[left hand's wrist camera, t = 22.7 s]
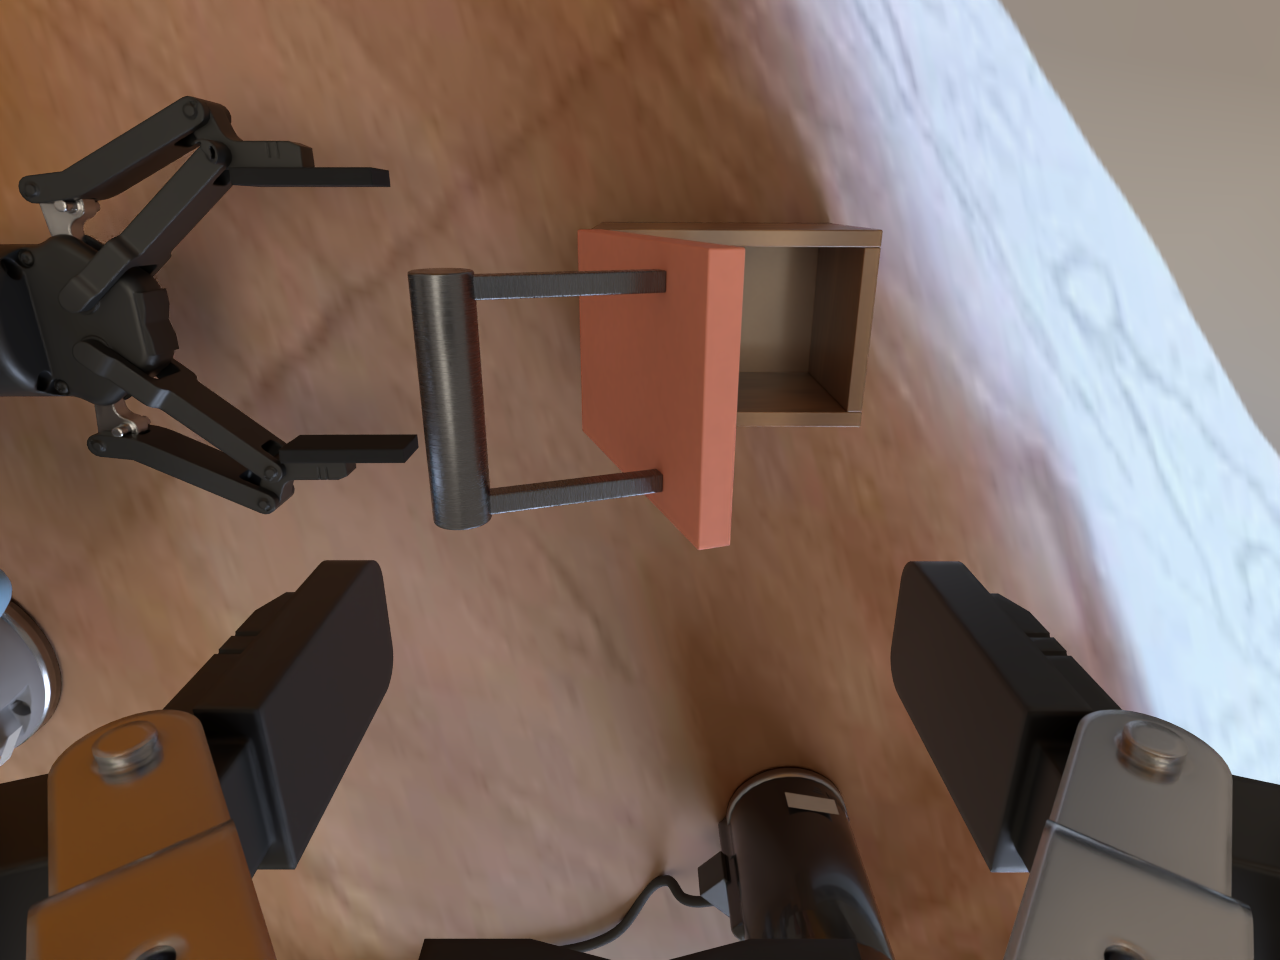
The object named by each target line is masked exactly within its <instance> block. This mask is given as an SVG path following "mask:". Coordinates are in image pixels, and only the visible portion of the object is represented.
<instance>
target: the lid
mask: <svg viewBox="0 0 1280 960" xmlns="http://www.w3.org/2000/svg"><path fill="white" fill-rule="evenodd" d="M744 266H745V248H744V247H737V246H729V245H721V244H714V243H706V242H698V241H690V240H682V239H674V238H666V237H659V236H651V235H643V234H635V233H627V232H619V231H611V230H603V229H579V230H578V268H579V271H566V272H530V273H495V274H474V271H473V270H470V269H462V268H429V269H417V270H411V271H409V272H408V282H409V292H410V301H411V311H412V320H413V330H414V339H415V349H416V358H417V368H418V377H419V387H420V396H421V406H422V415H423V425H424V434H425V444H426V453H427V463H428V472H429V482H430V491H431V501H432V510H433V520H434V523H435V524H436V525H437V526H438V527H440V528H443V529H448V530H466V529H472V528H476V527H479V526H482V525H484V524H486V523H487V522H489V521H490V519H491V517H492V514H498V513H506V512H513V511H521V510H529V509H536V508H544V507H551V506H559V505H567V504H574V503H582V502H590V501H597V500H605V499H612V498H620V497H628V496H635V495H643V494H645V496H646V497H647V498H648V499H649V500H650V501H651V502H652V503H653V504H654V505H655V506H656V507H657V508H658V509H659V510H660V511H661V512H662V513H663V514H664V515H665V516H666V517H667V518H668V519H669V520H670V521H671V522H672V523H673V524H674V525H675V526H676V528H677V529H678V530H679V531H680V532H681V533H682V534H683V535H684V536H685V537H686V538H687V539H688V540H689V541H690V542H691V543H692V544H693V545H694V546H695V547H696V548H697V549H698V550H702V549H709V548H715V547H721V546H727V545H730V533H731V514H732V495H733V476H734V457H735V438H736V419H737V400H738V381H739V362H740V342H741V323H742V304H743V285H744ZM568 296H579V307H580V347H581V387H582V427H583V431H584V433H585V434H586V435H587V436H588V437H589V438H590V439H591V440H592V441H593V442H594V443H595V444H596V445H597V446H598V447H599V448H600V449H601V450H602V451H603V452H604V453H605V454H606V455H607V456H608V457H609V458H610V459H611V460H612V461H613V462H614V463H615V465H616V466H617V467H618V468H619V469H620V470H621V471H622V472H623V473H616V474H608V475H600V476H591V477H583V478H575V479H566V480H558V481H550V482H541V483H533V484H525V485H516V486H508V487H500V488H491V489H490V482H489V468H488V455H487V441H486V428H485V414H484V401H483V387H482V374H481V361H480V347H479V334H478V320H477V307H476V300H491V299H517V298H542V297H568Z"/></svg>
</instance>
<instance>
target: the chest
mask: <svg viewBox="0 0 1280 960" xmlns="http://www.w3.org/2000/svg"><path fill="white" fill-rule="evenodd" d="M592 229H603V230H611V231H619V232H627V233H635V234H643V235H651V236H659V237H666V238H674V239H682V240H690V241H698V242H706V243H714V244H721V245H729V246H737V247H744V248H745V266H744V285H743V304H742V323H741V342H740V362H739V381H738V400H737V419H736V426H772V427H860V424H861V415H862V406H863V397H864V388H865V380H866V371H867V362H868V353H869V345H870V336H871V327H872V319H873V310H874V301H875V293H876V284H877V275H878V266H879V258H880V246H881V240H882V232H883V231H882V230H879V229H871V228H863V227H855V226H847V225H839V224H831V223H610V222H602V223H600V224H599V225H597V226H596V227H594V228H592Z"/></svg>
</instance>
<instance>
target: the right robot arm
mask: <svg viewBox="0 0 1280 960" xmlns="http://www.w3.org/2000/svg"><path fill="white" fill-rule="evenodd" d="M198 146H200V147H199V148H198V149H197V150H196V151H195V152H194V153H193V154H192V155H191V157H190V158H189V159H188V160H187V161H186V162H185V163H184V164H183V165H182V167H181V168H180V169H179V170H178V171H177V172H176V173H175V174H174V175H173V177H172V178H171V179H170V180H169V181H168V182H167V183H166V184H165V185H164V187H163V188H162V189H161V190H160V191H159V192H158V193H157V194H156V195H155V197H154V198H153V199H152V200H151V201H150V202H149V203H148V204H147V205H146V207H145V208H144V209H143V210H142V211H141V212H140V213H139V214H138V215H137V216H136V218H135V219H134V220H133V221H132V222H131V223H130V224H129V225H128V226H127V228H126V229H125V230H124V231H123V232H122V233H121V234H120V235H118V236H117V237H114V238H112V239H111V240H109V241H108V242H107V243H106V244H105V245H104V244H102V243H100V242H99V241H97V240H96V239H94V238H92V237H90V236H88V235H85V234H84V231H83V225H84V223H85V222H86V220H88V219H90V218H92V217H94V216H95V214H96V212H98V211H99V210H100V204H99V203H98V202H97V201H100V200H105V199H108V198H111V197H114V196H116V195H118V194H120V193H122V192H124V191H125V190H127V189H129V188H130V187H132V186H134V185H135V184H137V183H139V182H140V181H142V180H143V179H145V178H147V177H148V176H150V175H152V174H153V173H155V172H157V171H158V170H160V169H162V168H163V167H165V166H167V165H168V164H170V163H172V162H173V161H175V160H177V159H178V158H180V157H182V156H183V155H185V154H187V153H188V152H190V151H192V150H193V149H195V148H197V147H198ZM233 185H241V186H256V187H390V178H389V170H383V169H377V168H371V167H315V166H314V159H313V152H312V148H310V147H308V146H305V145H303V144H300V143H295V142H290V141H243V140H241V139H240V138H239V137H238V136H237V135H236V133H235V132H234V130H233V128H232V126H231V115H230V113H229V111H228V110H227V108H226V107H224V106H223V105H221V104H218V103H214V102H210V101H207V100H203V99H199V98H195V97H190V96H185V97H182V98H181V99H179V100H177V101H176V102H174V103H172V104H171V105H169V106H168V107H166V108H164V109H163V110H161V111H159V112H158V113H156V114H155V115H153V116H151V117H150V118H148V119H146V120H145V121H143V122H142V123H140V124H138V125H137V126H135V127H133V128H132V129H130V130H129V131H127V132H125V133H124V134H122V135H120V136H119V137H117V138H116V139H114V140H112V141H111V142H109V143H108V144H106V145H104V146H103V147H101V148H99V149H98V150H96V151H95V152H93V153H91V154H90V155H88V156H86V157H85V158H83V159H82V160H80V161H78V162H77V163H75V164H73V165H72V166H70V167H69V168H67V169H65V170H64V171H62V172H54V173H46V174H38V175H30V176H25V177H23V178H22V179H21V180H20V181H19V191H20V193H21V195H22V197H24V198H25V199H26V200H27V201H29V202H31V203H39V204H40V207H41V209H42V212H43V215H44V217H45V220H46V223H47V225H48V228H49V231H50V234H51V236H52V237H50V238H48V239H47V240H46V241H44V242H43V243H40V244H0V396H74V397H79V398H82V399H84V400H86V401H88V402H91V403H93V404H95V411H96V418H97V425H98V433H97V434H95V435H92V436H91V437H89V439H88V440H87V446H88V449H89V450H90V451H91V452H92V453H93V454H94V455H96V456H100V457H109V458H118V459H128V460H134V461H137V462H139V463H142V464H144V465H146V466H149V467H151V468H154V469H156V470H158V471H161V472H163V473H166V474H168V475H170V476H173V477H175V478H178V479H180V480H183V481H185V482H187V483H190V484H192V485H195V486H197V487H199V488H202V489H204V490H207V491H209V492H211V493H214V494H216V495H219V496H221V497H223V498H226V499H228V500H231V501H233V502H235V503H238V504H240V505H243V506H245V507H247V508H250V509H252V510H255V511H257V512H259V513H262V514H270V513H272V512H273V511H274V510H276V509H277V508H278V507H279V506H280V505H282V504H283V503H284V502H285V501H286V500H288V499H289V498H290V497H291V496H292V495H293V494H294V490H295V489H294V485H293V482H294V480H320V479H321V480H327V479H328V480H339V479H341V478H344V477H346V476H348V475H349V474H350V473H351V472H352V471H353V470H354V469H355V468H356V463H405V462H406V461H407V460H408V459H409V457H410V456H411V455H412V454H413V453H414V452H415V451H416V450H417V449H418V438H417V435H299V436H298V437H296V438H295V439H293V440H292V441H290V442H289V443H287V444H286V443H285V442H283V441H282V440H281V439H279V438H278V437H276V436H275V435H273V434H272V433H271V432H269V431H268V430H266V429H265V428H264V427H262V426H261V425H259V424H258V423H256V422H255V421H254V420H252V419H251V418H249V417H248V416H246V415H245V414H244V413H242V412H241V411H239V410H238V409H237V408H235V407H234V406H232V405H231V404H229V403H228V402H227V401H225V400H224V399H222V398H221V397H219V396H218V395H217V394H215V393H214V392H212V391H211V390H210V389H208V388H207V387H205V386H204V385H202V384H201V383H200V382H198V381H197V376H196V375H195V374H194V373H193V372H192V371H190V370H189V369H188V368H186V367H185V366H183V365H182V364H180V363H179V362H178V361H176V360H175V359H173V355H174V350H176V349H179V346H178V342H177V337H176V333H175V331H174V329H173V327H172V325H171V323H170V321H169V300H168V295H167V290H166V289H161V288H160V286H159V284H158V282H157V281H156V280H155V279H154V278H153V276H154V275H155V274H156V273H157V272H158V271H159V270H160V269H161V267H162V266H163V265H164V264H165V263H166V262H167V261H168V260H169V259H170V257H171V251H172V250H173V249H174V248H175V247H176V246H177V245H178V244H179V243H180V241H181V240H182V239H183V238H184V237H185V236H186V235H187V234H188V233H189V232H190V231H191V230H192V229H193V227H194V226H195V225H196V224H197V223H198V222H199V221H200V220H201V219H202V218H203V217H204V216H205V215H206V214H207V212H208V211H209V210H210V209H211V208H212V207H213V206H214V205H215V204H216V203H217V202H218V201H219V200H220V198H221V197H222V196H223V195H224V194H225V193H226V192H227V191H228V190H229V189H230V188H231V187H232V186H233ZM155 376H156V377H158V378H159V379H155V378H154V377H155ZM131 396H133V397H134V398H136V399H137V400H139V401H140V402H141V403H143V404H145V405H146V406H149V407H154V408H159V409H161V410H163V411H164V412H166V413H167V414H169V415H170V416H171V417H173V418H174V419H176V420H177V421H179V422H180V423H182V424H183V425H185V426H186V427H187V428H189V429H190V430H192V431H193V432H195V433H196V434H198V435H199V436H201V437H202V438H204V439H205V440H206V441H208V442H209V443H211V444H212V445H214V446H215V447H217V448H218V449H220V450H221V451H220V450H217V449H215V448H213V447H210V446H208V445H205V444H203V443H201V442H198V441H196V440H194V439H191V438H189V437H187V436H184V435H182V434H180V433H177V432H175V431H172V430H170V429H167V428H163V427H160V426H154V425H150V419H149V418H148V417H146V416H141V415H138V414H135V413H133V412H131V411H130V410H129V409H128V408H127V406H126V404H125V400H126V399H128V398H130V397H131ZM222 451H223V452H222ZM11 595H12V585H11V582H10V580H9V578H8V577H7V575H6V574H5V573H4V572H3V571H2V570H1V569H0V756H1V759H0V766H1V765H2V764H3V763H5V762H6V761H7V760H8V759H9V758H10V757H11V754H12V751H13V749H14V748H16V747H18V746H19V745H21V744H22V743H24V742H25V741H26V740H27V739H28V738H30V737H31V736H32V735H33V734H34V733H35V732H36V731H38V730H39V729H40V728H41V727H42V726H43V725H44V724H45V723H46V722H47V721H48V720H49V719H50V718H51V716H52V715H53V713H54V711H55V709H56V707H57V705H58V702H59V699H60V693H61V674H60V669H59V665H58V661H57V658H56V656H55V653H54V651H53V649H52V647H51V645H50V643H49V641H48V640H47V638H46V637H45V635H44V634H43V632H42V631H41V629H40V628H39V627H38V626H37V625H36V623H35V622H34V621H33V620H32V619H31V618H30V617H29V616H28V615H27V614H26V613H25V612H24V611H23V610H22V609H21V608H20V607H19V606H17V605H16V604H15V603H14V602H12V601H11V600H10V599H11Z"/></svg>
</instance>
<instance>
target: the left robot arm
mask: <svg viewBox="0 0 1280 960" xmlns="http://www.w3.org/2000/svg"><path fill="white" fill-rule="evenodd" d="M1066 652H1067V651H1066V650H1065V649H1064V648H1063V647H1062V646H1061V645H1060V644H1059V643H1058V642H1057V640H1056V639H1055V638H1050V633H1049V632H1048V631H1047V630H1046V629H1045V628H1044V627H1043V626H1042V625H1041V624H1040V622H1039V621H1038V620H1037V619H1036V618H1035V617H1034V616H1033V615H1032V614H1031V613H1030V612H1029V611H1027V610H1025V609H1024V608H1022V607H1020V606H1019V605H1017V604H1015V603H1013V602H1012V601H1010V600H1008V599H1007V598H1005V597H1003V596H1002V595H1000V594H990V593H989V592H988V591H987V590H986V589H985V588H984V586H983V585H982V584H981V583H980V582H979V581H978V580H977V579H976V577H975V576H974V575H973V574H972V573H971V572H970V571H969V570H968V568H967V567H966V566H965V565H964V564H963V563H961V562H957V561H910V562H908V563H907V564H906V565H905V567H904V569H903V572H902V577H901V583H900V590H899V597H898V604H897V611H896V618H895V625H894V632H893V639H892V646H891V671H892V677H893V682H894V685H895V688H896V691H897V693H898V695H899V697H900V699H901V701H902V703H903V705H904V706H905V708H906V710H907V712H908V714H909V716H910V718H911V720H912V722H913V724H914V726H915V728H916V729H917V731H918V733H919V735H920V737H921V739H922V741H923V743H924V745H925V747H926V749H927V751H928V752H929V754H930V756H931V758H932V760H933V762H934V764H935V766H936V768H937V770H938V772H939V774H940V775H941V777H942V779H943V781H944V783H945V785H946V787H947V789H948V791H949V793H950V795H951V797H952V798H953V800H954V802H955V804H956V806H957V808H958V810H959V812H960V814H961V816H962V818H963V820H964V821H965V823H966V825H967V827H968V829H969V831H970V833H971V835H972V837H973V839H974V841H975V843H976V844H977V846H978V848H979V850H980V852H981V854H982V856H983V858H984V860H985V862H986V864H987V866H988V867H989V869H990V871H991V872H1029V873H1030V875H1029V878H1028V881H1027V884H1026V888H1025V891H1024V894H1023V897H1022V901H1021V904H1020V907H1019V910H1018V914H1017V917H1016V920H1015V923H1014V926H1013V930H1012V933H1011V936H1010V939H1009V943H1008V946H1007V949H1006V952H1005V956H1004V959H1003V960H1280V785H1278V784H1273V783H1268V782H1264V781H1259V780H1254V779H1249V778H1244V777H1240V776H1235V775H1232V774H1231V772H1230V769H1229V767H1228V765H1227V764H1226V763H1225V761H1224V760H1223V758H1222V757H1221V756H1220V755H1219V754H1218V753H1217V752H1216V751H1215V750H1214V749H1213V748H1211V747H1210V746H1209V745H1208V744H1206V743H1205V742H1204V741H1202V740H1201V739H1199V738H1198V737H1196V736H1195V735H1193V734H1192V733H1190V732H1188V731H1186V730H1184V729H1183V728H1180V727H1178V726H1176V725H1174V724H1172V723H1170V722H1167V721H1164V720H1162V719H1159V718H1156V717H1153V716H1149V715H1146V714H1142V713H1137V712H1133V711H1125V710H1122V709H1121V708H1120V707H1119V706H1118V705H1117V704H1116V703H1115V702H1114V701H1113V700H1112V699H1111V698H1110V697H1109V696H1108V694H1107V693H1106V692H1105V691H1104V690H1103V689H1102V688H1101V687H1100V686H1099V685H1098V684H1097V683H1096V682H1095V681H1094V680H1093V679H1092V678H1091V676H1090V675H1089V674H1088V673H1087V672H1086V671H1085V670H1084V669H1083V668H1082V667H1081V666H1080V665H1079V664H1078V663H1077V662H1076V661H1075V660H1074V658H1073V657H1072V656H1067V653H1066ZM392 668H393V646H392V639H391V632H390V625H389V618H388V611H387V604H386V596H385V589H384V582H383V576H382V571H381V568H380V566H379V564H378V563H377V562H376V561H374V560H326V561H323V562H321V563H320V564H319V565H318V567H317V568H316V569H315V570H314V571H313V572H312V573H311V575H310V576H309V577H308V578H307V579H306V580H305V581H304V583H303V584H302V585H301V586H300V587H299V588H298V589H297V590H296V592H286V593H284V594H283V595H281V596H279V597H277V598H276V599H274V600H272V601H271V602H269V603H267V604H265V605H264V606H262V607H260V608H259V609H257V610H255V611H254V612H253V614H252V615H251V616H250V617H249V618H248V619H247V620H246V621H245V622H244V623H243V624H242V625H241V626H240V627H239V628H238V630H237V631H236V634H235V636H231V637H230V638H229V639H228V640H227V641H226V642H225V643H224V644H223V646H222V647H221V648H220V649H219V653H218V654H214V655H213V656H212V657H211V658H210V659H209V660H208V662H207V663H206V664H205V665H204V666H203V667H202V668H201V669H200V670H199V671H198V672H197V673H196V674H195V675H194V677H193V678H192V679H191V680H190V681H189V682H188V683H187V684H186V685H185V686H184V687H183V688H182V689H181V690H180V691H179V693H178V694H177V695H176V696H175V697H174V698H173V699H172V700H171V701H170V702H169V703H168V704H167V705H166V706H165V707H164V709H163V710H155V711H147V712H143V713H138V714H134V715H131V716H127V717H124V718H121V719H118V720H116V721H113V722H110V723H108V724H106V725H104V726H102V727H100V728H97V729H96V730H94V731H92V732H90V733H88V734H87V735H85V736H84V737H82V738H81V739H79V740H78V741H76V742H75V743H74V744H72V745H71V746H70V747H69V748H67V749H66V750H65V751H64V752H63V753H62V754H61V755H60V756H59V757H58V758H57V760H56V761H55V763H54V764H53V765H52V767H51V769H50V772H49V774H45V775H40V776H35V777H30V778H25V779H21V780H16V781H11V782H6V783H2V784H0V960H277V959H276V956H275V952H274V949H273V946H272V943H271V939H270V936H269V933H268V930H267V926H266V923H265V920H264V917H263V914H262V910H261V907H260V904H259V901H258V897H257V894H256V891H255V888H254V884H253V881H252V877H253V876H254V874H255V872H256V870H257V869H295V868H296V866H297V864H298V862H299V860H300V858H301V856H302V854H303V852H304V850H305V848H306V847H307V845H308V843H309V841H310V839H311V837H312V835H313V833H314V831H315V829H316V827H317V825H318V823H319V821H320V819H321V817H322V816H323V814H324V812H325V810H326V808H327V806H328V804H329V802H330V800H331V798H332V796H333V794H334V792H335V790H336V788H337V786H338V784H339V783H340V781H341V779H342V777H343V775H344V773H345V771H346V769H347V767H348V765H349V763H350V761H351V759H352V757H353V755H354V753H355V752H356V750H357V748H358V746H359V744H360V742H361V740H362V738H363V736H364V734H365V732H366V730H367V728H368V726H369V724H370V722H371V720H372V719H373V717H374V715H375V713H376V711H377V709H378V707H379V705H380V703H381V701H382V699H383V697H384V695H385V693H386V691H387V689H388V686H389V683H390V679H391V675H392ZM718 827H719V835H720V843H721V851H722V852H721V851H720V852H719V853H717V854H716V855H715V856H713V857H712V858H711V859H709V860H708V861H707V862H705V863H704V864H702V865H701V866H700V867H698V877H699V888H700V896H692V895H688V894H686V893H684V892H683V891H682V889H681V888H680V886H679V884H678V883H677V881H676V880H675V879H674V878H673V877H672V876H669V875H666V876H660V877H657V878H655V879H654V880H653V881H651V882H650V883H649V884H648V885H647V887H646V888H645V889H644V890H643V892H642V893H641V894H640V896H639V897H638V898H637V900H636V901H635V903H634V904H633V906H632V908H631V909H630V911H629V912H628V913H627V915H626V916H625V917H624V919H623V920H622V921H621V922H620V923H619V924H618V925H617V926H616V927H614V928H613V929H612V930H610V931H608V932H607V933H605V934H603V935H600V936H598V937H596V938H593V939H590V940H587V941H583V942H579V943H575V944H570V945H564V946H556V945H552V944H548V943H544V942H541V941H537V940H533V939H424V943H423V946H422V949H421V953H420V956H419V960H609V959H606V958H602V957H598V956H594V955H590V954H587V953H583V952H586V951H590V950H593V949H596V948H598V947H601V946H603V945H606V944H608V943H610V942H612V941H613V940H615V939H616V938H618V937H619V936H620V935H622V934H623V933H624V932H625V931H626V930H627V929H628V928H629V926H630V925H631V924H632V923H633V921H634V920H635V918H636V917H637V915H638V914H639V912H640V911H641V909H642V907H643V906H644V904H645V903H646V901H647V900H648V898H649V897H650V895H651V894H652V893H653V892H654V891H655V890H657V889H658V888H660V887H662V886H668V887H669V888H670V890H671V892H672V893H673V895H674V897H675V898H676V899H677V900H678V901H679V902H680V903H682V904H684V905H686V906H689V907H709V906H715V907H716V908H718V909H719V910H720V911H722V912H723V913H724V914H726V915H727V916H728V917H730V923H731V930H732V933H733V934H734V936H735V937H736V938H737V939H739V940H740V941H739V942H736V943H732V944H728V945H724V946H720V947H716V948H713V949H709V950H705V951H701V952H697V953H693V954H690V955H686V956H682V957H678V958H674V959H671V960H895V958H894V955H893V952H892V949H891V946H890V943H889V940H888V937H887V934H886V931H885V928H884V925H883V922H882V919H881V916H880V913H879V910H878V907H877V904H876V901H875V898H874V895H873V892H872V889H871V886H870V883H869V880H868V877H867V874H866V871H865V868H864V865H863V862H862V859H861V856H860V853H859V850H858V847H857V844H856V841H855V838H854V835H853V832H852V829H851V826H850V823H849V818H848V815H847V811H846V807H845V804H844V801H843V798H842V796H841V794H840V792H839V790H838V789H837V788H836V787H835V785H834V784H833V783H832V782H831V781H829V780H828V779H827V778H825V777H823V776H822V775H820V774H818V773H815V772H813V771H809V770H805V769H800V768H780V769H774V770H770V771H766V772H763V773H761V774H758V775H756V776H754V777H752V778H751V779H749V780H748V781H746V782H745V783H744V784H743V785H741V786H740V787H739V788H738V789H737V791H736V792H735V793H734V795H733V796H732V798H731V800H730V802H729V805H728V808H727V814H726V818H725V819H724V820H722V821H721V822H720V823H719V824H718Z"/></svg>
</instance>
